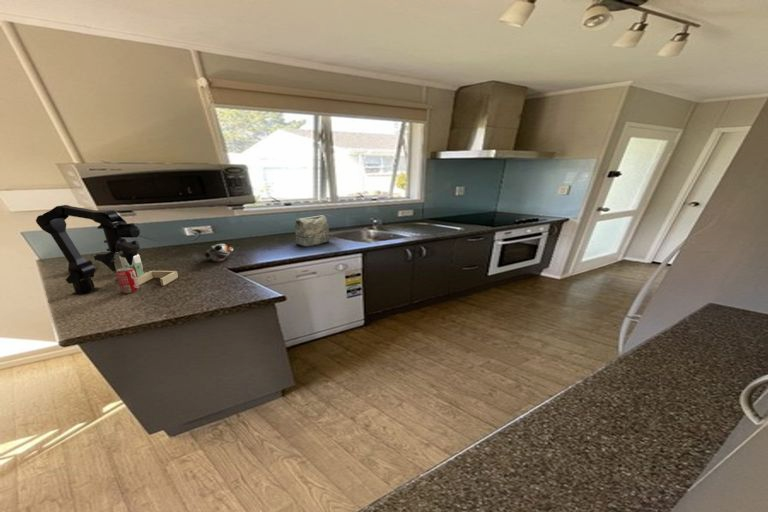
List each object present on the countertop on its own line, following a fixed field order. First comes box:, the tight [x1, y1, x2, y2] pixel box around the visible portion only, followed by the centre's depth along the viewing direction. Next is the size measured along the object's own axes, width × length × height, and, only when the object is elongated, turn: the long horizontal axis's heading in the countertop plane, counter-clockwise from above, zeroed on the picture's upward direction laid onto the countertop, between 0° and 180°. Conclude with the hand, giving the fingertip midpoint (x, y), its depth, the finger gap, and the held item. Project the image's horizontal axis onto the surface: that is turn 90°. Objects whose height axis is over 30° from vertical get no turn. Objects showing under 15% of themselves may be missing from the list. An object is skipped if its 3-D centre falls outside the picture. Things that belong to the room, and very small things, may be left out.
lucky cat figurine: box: [204, 243, 235, 263], centre depth 189 cm, size 15×12×14 cm
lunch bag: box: [294, 214, 330, 248], centre depth 230 cm, size 26×18×22 cm
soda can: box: [115, 267, 140, 294], centre depth 142 cm, size 7×7×12 cm
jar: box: [118, 250, 144, 269], centre depth 168 cm, size 9×8×12 cm
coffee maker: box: [125, 262, 148, 277], centre depth 157 cm, size 12×10×9 cm
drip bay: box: [137, 270, 179, 287], centre depth 155 cm, size 11×14×4 cm
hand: (122, 268), depth 140 cm, fingers open, 9 cm apart
